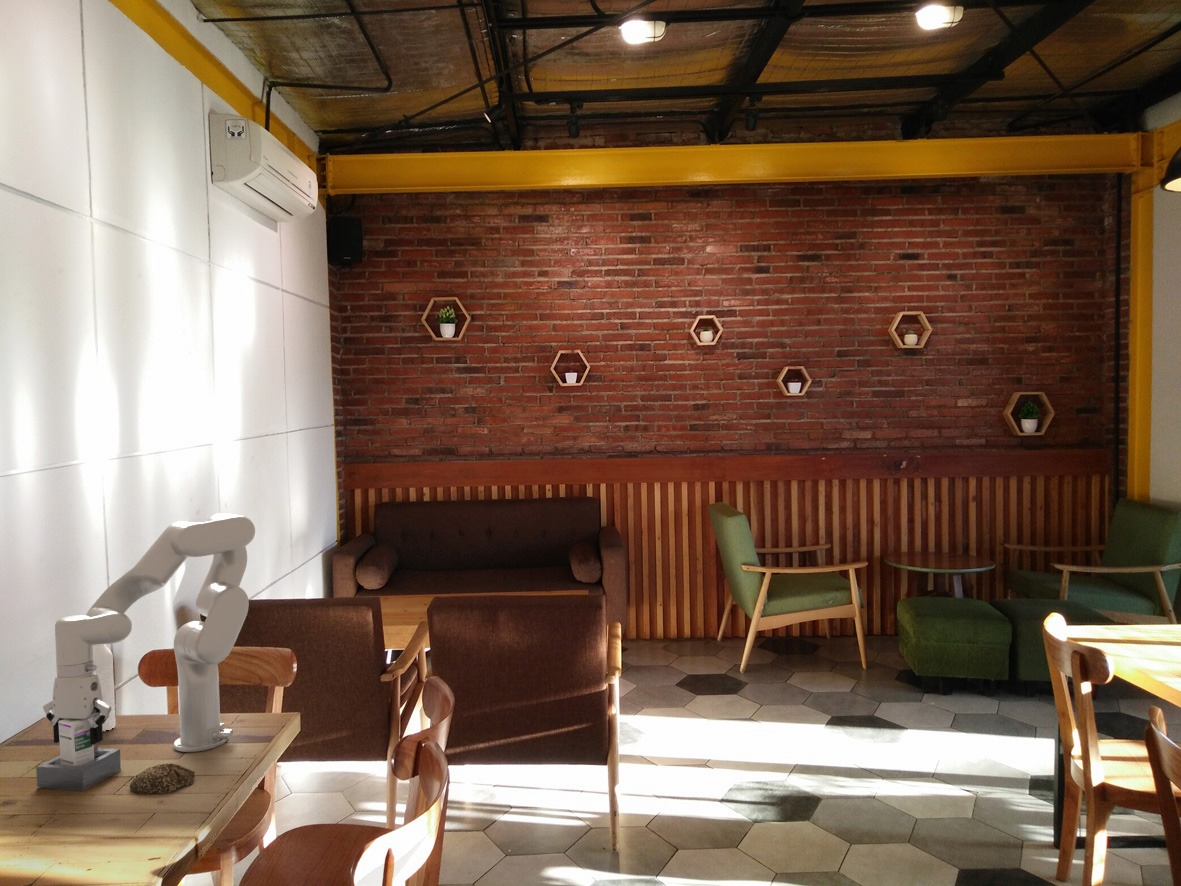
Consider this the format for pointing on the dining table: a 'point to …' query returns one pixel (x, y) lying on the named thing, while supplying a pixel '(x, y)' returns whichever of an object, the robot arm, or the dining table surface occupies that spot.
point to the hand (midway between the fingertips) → (78, 741)
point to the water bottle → (105, 680)
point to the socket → (78, 771)
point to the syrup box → (76, 742)
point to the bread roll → (162, 779)
